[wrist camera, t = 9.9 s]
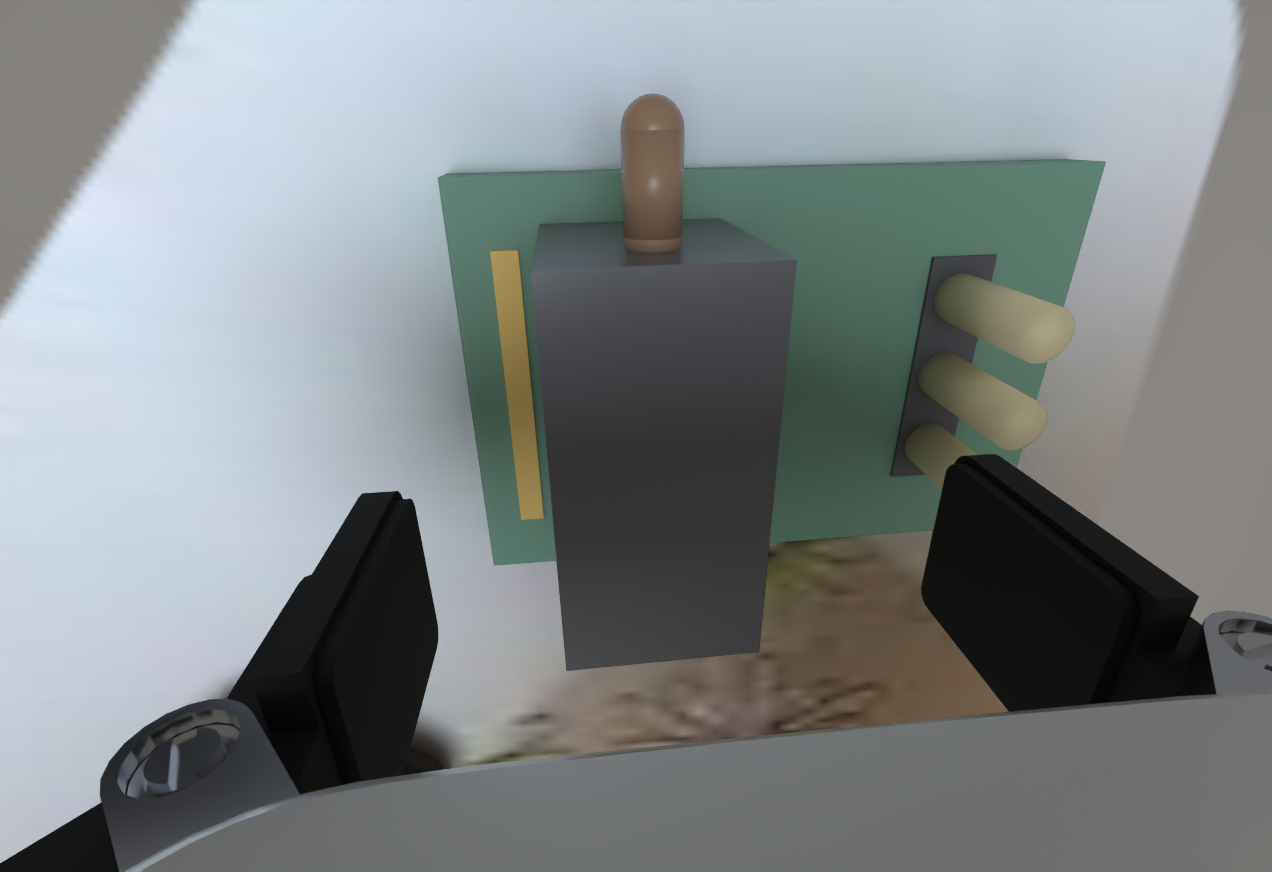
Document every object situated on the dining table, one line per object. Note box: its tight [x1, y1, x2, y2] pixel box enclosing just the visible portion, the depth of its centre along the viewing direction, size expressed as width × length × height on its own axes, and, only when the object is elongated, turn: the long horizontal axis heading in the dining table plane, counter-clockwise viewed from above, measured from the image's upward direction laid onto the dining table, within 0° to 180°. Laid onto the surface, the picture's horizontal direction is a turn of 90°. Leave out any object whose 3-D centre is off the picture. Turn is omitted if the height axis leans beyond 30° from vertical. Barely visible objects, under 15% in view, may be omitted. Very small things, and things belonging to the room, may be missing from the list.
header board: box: [438, 159, 1106, 565], centre depth 15 cm, size 10×15×4 cm, turn 91°
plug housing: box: [531, 94, 797, 671], centre depth 13 cm, size 10×4×5 cm, turn 1°
